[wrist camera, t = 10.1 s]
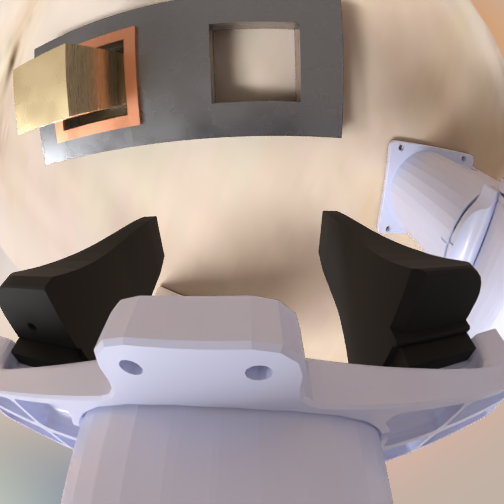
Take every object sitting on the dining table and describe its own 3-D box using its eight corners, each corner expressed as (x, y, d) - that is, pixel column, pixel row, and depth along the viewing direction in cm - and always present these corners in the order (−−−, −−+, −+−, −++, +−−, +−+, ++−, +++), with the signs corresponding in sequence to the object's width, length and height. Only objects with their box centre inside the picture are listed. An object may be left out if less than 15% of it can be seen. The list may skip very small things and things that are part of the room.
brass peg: (127, 54, 15) (65, 43, 8) (130, 103, 17) (69, 116, 10) (82, 67, 15) (13, 70, 8) (86, 114, 17) (18, 135, 10)
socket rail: (332, 7, 13) (341, -2, 11) (333, 133, 18) (342, 138, 16) (48, 49, 13) (32, 49, 11) (59, 157, 18) (43, 165, 17)
